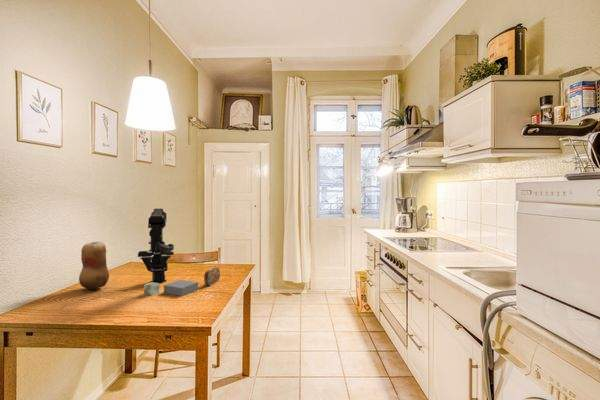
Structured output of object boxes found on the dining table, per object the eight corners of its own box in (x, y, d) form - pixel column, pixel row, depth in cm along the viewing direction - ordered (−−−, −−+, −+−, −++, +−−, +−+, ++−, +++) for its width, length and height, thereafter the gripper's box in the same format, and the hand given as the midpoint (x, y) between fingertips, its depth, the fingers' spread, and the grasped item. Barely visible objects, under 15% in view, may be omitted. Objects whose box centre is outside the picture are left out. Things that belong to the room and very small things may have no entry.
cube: (144, 294, 168) (144, 284, 168) (152, 291, 173) (151, 282, 173) (151, 295, 166) (151, 285, 166) (159, 292, 171) (159, 283, 171)
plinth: (163, 293, 170) (163, 285, 170) (180, 286, 181) (180, 279, 181) (182, 296, 166) (182, 288, 166) (198, 289, 177) (198, 282, 177)
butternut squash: (73, 293, 168) (73, 244, 168) (86, 286, 181) (86, 240, 181) (103, 292, 170) (102, 244, 170) (113, 285, 183) (113, 240, 183)
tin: (208, 287, 181) (208, 272, 181) (203, 287, 182) (203, 271, 182) (220, 280, 196) (220, 266, 196) (215, 280, 197) (215, 265, 197)
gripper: (154, 238, 160) (154, 271, 158) (181, 238, 177) (181, 268, 175) (137, 240, 164) (136, 272, 162) (165, 239, 181) (165, 268, 179)
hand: (156, 270), depth 169 cm, fingers open, 9 cm apart
